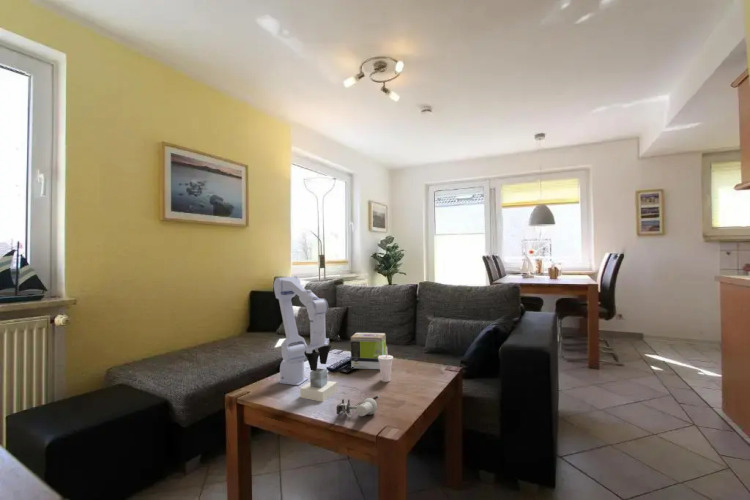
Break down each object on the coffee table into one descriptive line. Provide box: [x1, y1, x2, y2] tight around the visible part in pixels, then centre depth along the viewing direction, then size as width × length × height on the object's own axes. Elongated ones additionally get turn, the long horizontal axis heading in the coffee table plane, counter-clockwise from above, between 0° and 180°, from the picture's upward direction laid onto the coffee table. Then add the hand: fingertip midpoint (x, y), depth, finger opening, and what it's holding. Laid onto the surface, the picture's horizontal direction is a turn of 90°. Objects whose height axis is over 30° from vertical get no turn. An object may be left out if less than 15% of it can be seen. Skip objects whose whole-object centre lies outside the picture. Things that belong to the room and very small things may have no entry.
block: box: [309, 367, 328, 388], centre depth 133 cm, size 5×5×6 cm
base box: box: [299, 380, 338, 402], centre depth 133 cm, size 10×10×4 cm
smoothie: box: [378, 345, 394, 383], centre depth 146 cm, size 6×6×14 cm
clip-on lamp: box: [336, 390, 381, 418], centre depth 118 cm, size 12×6×18 cm
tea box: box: [350, 332, 387, 370], centre depth 165 cm, size 15×10×15 cm
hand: (318, 366), depth 133 cm, fingers open, 7 cm apart
